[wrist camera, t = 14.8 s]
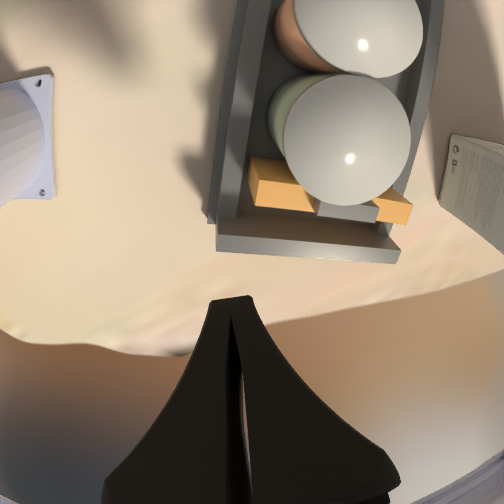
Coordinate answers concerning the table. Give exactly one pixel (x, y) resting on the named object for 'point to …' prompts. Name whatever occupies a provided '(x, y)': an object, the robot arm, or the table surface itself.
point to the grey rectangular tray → (262, 145)
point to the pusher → (297, 198)
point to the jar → (348, 35)
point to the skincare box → (476, 186)
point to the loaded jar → (339, 135)
